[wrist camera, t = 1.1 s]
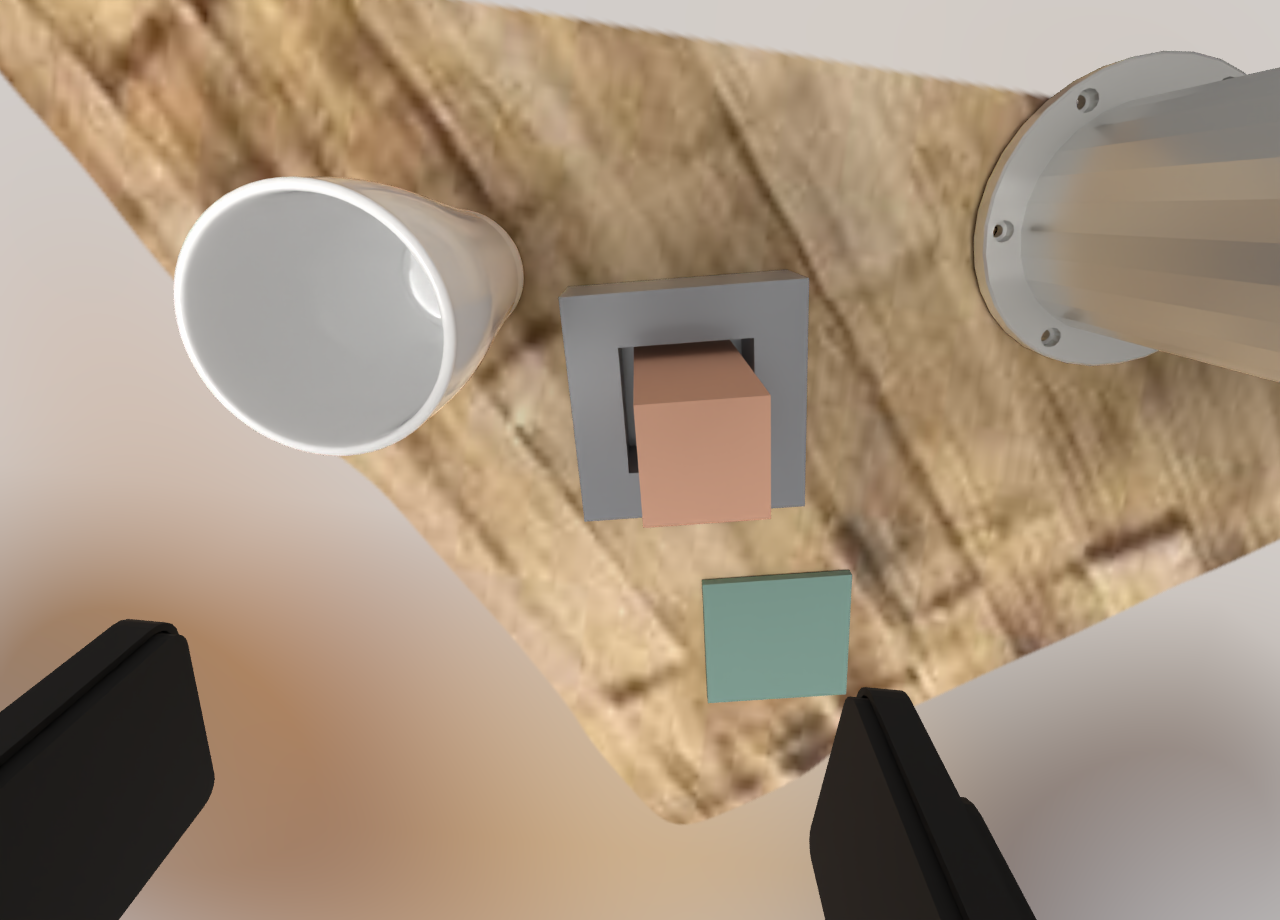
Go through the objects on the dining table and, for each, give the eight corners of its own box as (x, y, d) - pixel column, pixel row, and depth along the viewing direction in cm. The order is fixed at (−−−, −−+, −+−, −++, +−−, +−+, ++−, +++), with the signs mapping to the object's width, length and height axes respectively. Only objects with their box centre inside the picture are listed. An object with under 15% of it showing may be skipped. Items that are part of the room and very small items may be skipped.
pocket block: (786, 269, 29) (809, 278, 26) (785, 472, 33) (804, 505, 29) (568, 286, 30) (558, 297, 26) (590, 486, 33) (584, 521, 29)
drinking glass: (407, 168, 28) (176, 125, 14) (559, 221, 29) (487, 232, 15) (379, 319, 30) (156, 414, 16) (520, 365, 31) (425, 493, 17)
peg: (728, 337, 30) (770, 395, 21) (730, 427, 32) (771, 518, 22) (633, 344, 30) (633, 405, 21) (640, 434, 32) (643, 527, 22)
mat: (849, 569, 35) (852, 574, 35) (843, 688, 38) (846, 694, 37) (701, 579, 35) (702, 585, 35) (707, 696, 38) (708, 703, 38)
